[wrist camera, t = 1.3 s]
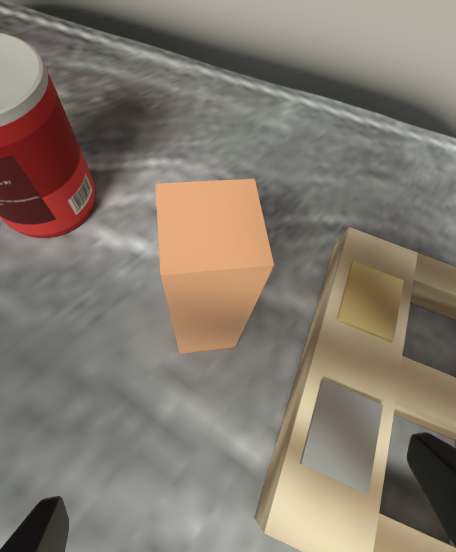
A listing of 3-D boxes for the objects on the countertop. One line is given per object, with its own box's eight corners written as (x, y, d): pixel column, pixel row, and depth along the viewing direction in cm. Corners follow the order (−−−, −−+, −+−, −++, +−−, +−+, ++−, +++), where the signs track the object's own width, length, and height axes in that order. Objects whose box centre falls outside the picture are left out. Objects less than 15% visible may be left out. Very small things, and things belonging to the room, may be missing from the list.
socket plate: (490, 629, 18) (549, 670, 15) (254, 517, 19) (265, 535, 16) (495, 308, 26) (533, 293, 23) (334, 246, 28) (350, 224, 25)
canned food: (85, 157, 29) (29, 20, 20) (110, 224, 27) (58, 104, 17) (-5, 179, 28) (-118, 40, 18) (11, 254, 25) (-113, 138, 15)
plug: (235, 346, 23) (274, 265, 11) (179, 353, 22) (160, 275, 11) (227, 296, 25) (254, 178, 13) (175, 301, 24) (155, 183, 12)
